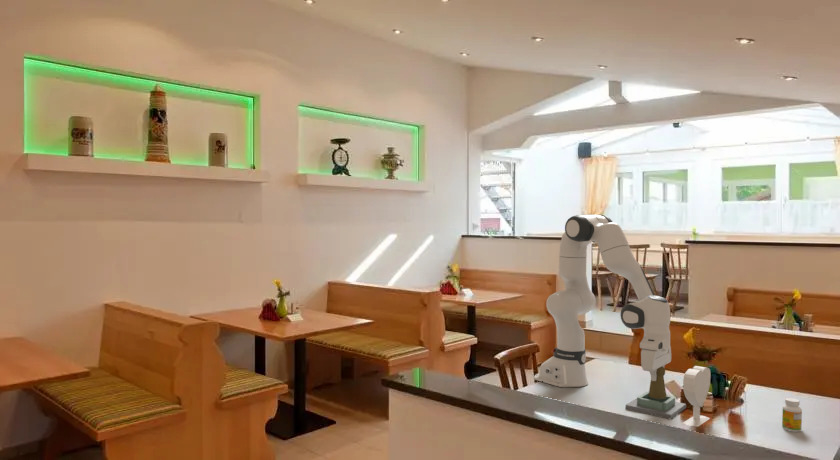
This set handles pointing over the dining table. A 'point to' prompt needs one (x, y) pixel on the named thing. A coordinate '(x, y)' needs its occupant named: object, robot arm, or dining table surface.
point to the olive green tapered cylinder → (658, 385)
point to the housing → (656, 406)
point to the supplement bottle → (792, 415)
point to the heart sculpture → (696, 392)
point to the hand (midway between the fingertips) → (657, 379)
